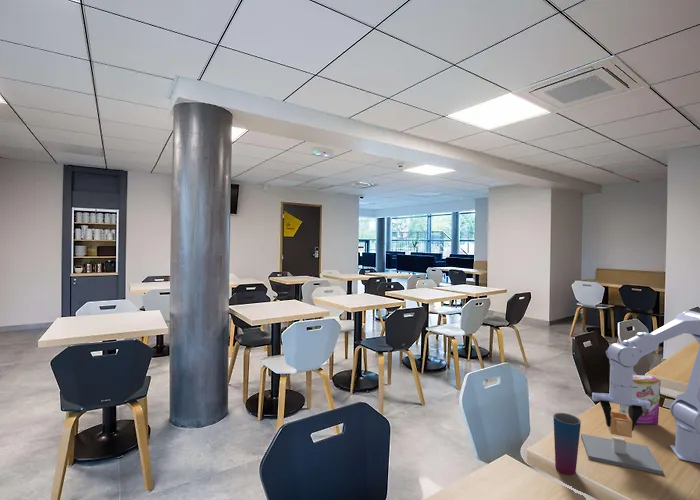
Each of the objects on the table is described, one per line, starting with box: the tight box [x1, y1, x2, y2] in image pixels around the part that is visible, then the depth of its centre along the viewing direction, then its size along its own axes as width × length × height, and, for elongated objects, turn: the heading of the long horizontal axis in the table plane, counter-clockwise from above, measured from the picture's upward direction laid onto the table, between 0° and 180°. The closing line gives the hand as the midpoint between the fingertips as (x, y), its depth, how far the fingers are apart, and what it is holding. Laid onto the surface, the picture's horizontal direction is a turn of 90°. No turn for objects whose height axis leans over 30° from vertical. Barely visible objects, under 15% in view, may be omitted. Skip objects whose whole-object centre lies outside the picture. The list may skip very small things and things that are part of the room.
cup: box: [553, 412, 582, 476], centre depth 107 cm, size 7×7×15 cm
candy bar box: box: [619, 374, 662, 425], centre depth 136 cm, size 11×5×16 cm, turn 92°
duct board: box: [580, 433, 664, 475], centre depth 116 cm, size 18×14×4 cm
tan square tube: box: [606, 410, 633, 439], centre depth 114 cm, size 9×5×5 cm, turn 156°
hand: (619, 427), depth 115 cm, fingers closed on tan square tube, 5 cm apart
